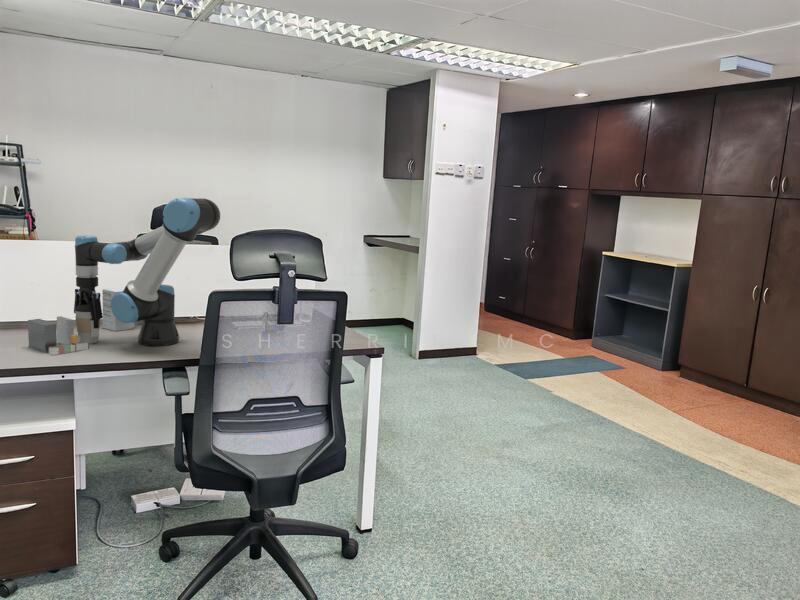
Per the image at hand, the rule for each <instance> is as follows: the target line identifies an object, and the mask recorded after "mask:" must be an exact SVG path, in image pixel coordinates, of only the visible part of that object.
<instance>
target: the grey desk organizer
mask: <svg viewBox="0 0 800 600" xmlns="http://www.w3.org/2000/svg"><path fill="white" fill-rule="evenodd" d="M27 333H28V334H27V335H28V347H29V348H31V349H34V350H36V351H39V352H42V353H45V354H46V353H48V354H49V355H50V356H54V355H62V354H66V353H68V354H69V353H73V352H79V351H85V350H89V344H88V342H77V343H72V344H58V343H57V323H54V322H51V321H47V320H44V319H42V318H32V319H28V320H27Z"/></svg>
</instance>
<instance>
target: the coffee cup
mask: <svg viewBox="0 0 800 600" xmlns="http://www.w3.org/2000/svg"><path fill="white" fill-rule="evenodd" d="M74 314H75V316H74V317H75V325H76V331H77V335H79V336H80V341H79V342H88V345H89V344H90V345H91V344H96V343H98V342H99V338H100V335H99V336H96V337H91V320H90V319H92V317H91V309H90V307H89V305H88V304H87V303H86V304H78V306H77V307H76V308H75V313H74ZM94 317H95V316H94ZM100 327H101V319H99V329H100ZM79 342H78V343H79Z"/></svg>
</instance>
